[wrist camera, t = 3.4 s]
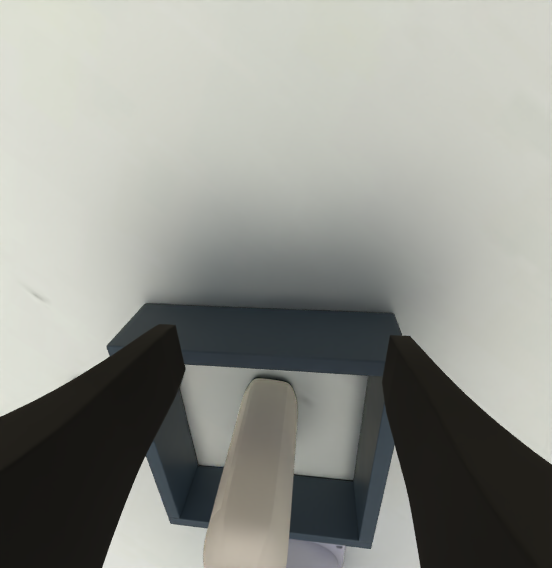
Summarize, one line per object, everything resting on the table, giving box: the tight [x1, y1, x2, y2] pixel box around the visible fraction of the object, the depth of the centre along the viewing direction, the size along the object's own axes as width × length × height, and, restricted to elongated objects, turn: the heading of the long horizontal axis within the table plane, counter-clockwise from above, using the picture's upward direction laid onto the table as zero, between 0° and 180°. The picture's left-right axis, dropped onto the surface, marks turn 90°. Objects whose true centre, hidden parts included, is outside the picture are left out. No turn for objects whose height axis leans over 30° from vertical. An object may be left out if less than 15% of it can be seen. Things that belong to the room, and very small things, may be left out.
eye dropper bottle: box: [203, 378, 298, 568], centre depth 14 cm, size 4×6×12 cm
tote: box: [107, 304, 402, 549], centre depth 18 cm, size 15×13×4 cm
